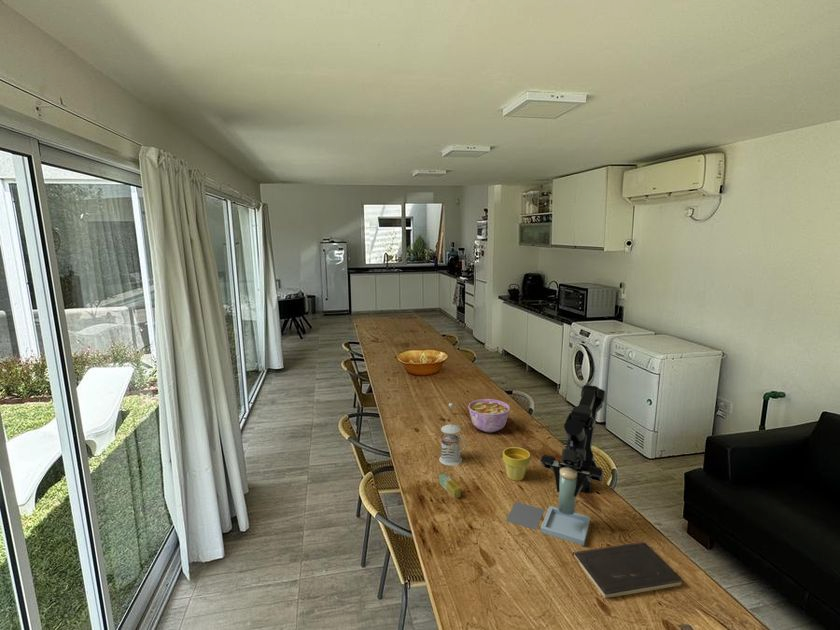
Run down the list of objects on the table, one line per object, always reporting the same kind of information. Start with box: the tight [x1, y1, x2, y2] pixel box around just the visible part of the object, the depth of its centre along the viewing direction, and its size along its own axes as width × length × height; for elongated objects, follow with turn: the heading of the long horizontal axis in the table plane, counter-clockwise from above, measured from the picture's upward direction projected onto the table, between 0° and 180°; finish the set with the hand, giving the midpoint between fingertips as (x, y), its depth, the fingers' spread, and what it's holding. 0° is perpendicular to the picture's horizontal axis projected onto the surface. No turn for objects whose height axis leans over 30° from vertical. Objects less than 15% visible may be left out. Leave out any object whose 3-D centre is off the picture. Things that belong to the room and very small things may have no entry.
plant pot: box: [502, 446, 531, 482], centre depth 171 cm, size 10×10×10 cm
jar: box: [557, 466, 577, 515], centre depth 139 cm, size 5×5×13 cm
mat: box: [505, 501, 545, 531], centre depth 147 cm, size 12×10×1 cm
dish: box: [539, 505, 591, 548], centre depth 141 cm, size 13×13×2 cm
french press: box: [438, 402, 467, 467], centre depth 182 cm, size 10×12×25 cm
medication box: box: [438, 472, 462, 499], centre depth 162 cm, size 12×3×4 cm, turn 27°
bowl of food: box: [468, 398, 511, 433], centre depth 213 cm, size 20×20×12 cm
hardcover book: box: [572, 541, 684, 599], centre depth 123 cm, size 16×23×2 cm
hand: (566, 494), depth 137 cm, fingers closed on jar, 5 cm apart
